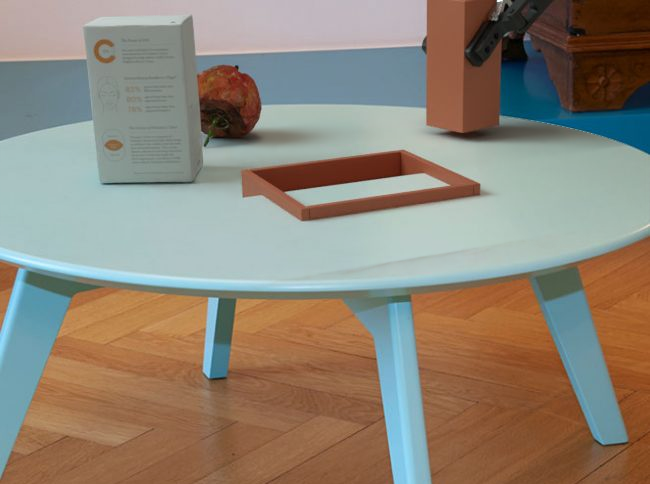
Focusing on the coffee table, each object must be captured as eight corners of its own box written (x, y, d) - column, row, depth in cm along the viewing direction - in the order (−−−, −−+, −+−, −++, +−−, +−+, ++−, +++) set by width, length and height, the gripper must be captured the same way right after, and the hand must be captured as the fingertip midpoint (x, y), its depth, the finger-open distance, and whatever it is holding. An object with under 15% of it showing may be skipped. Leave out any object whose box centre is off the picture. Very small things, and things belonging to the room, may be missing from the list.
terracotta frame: (403, 180, 94) (403, 149, 93) (479, 217, 84) (480, 183, 83) (242, 202, 89) (240, 169, 88) (302, 245, 78) (301, 209, 78)
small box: (204, 164, 100) (194, 13, 95) (193, 183, 94) (182, 22, 90) (113, 165, 101) (99, 14, 96) (97, 184, 95) (81, 24, 90)
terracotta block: (462, 118, 113) (464, -8, 108) (499, 125, 109) (503, -5, 105) (425, 125, 110) (426, -3, 105) (462, 133, 106) (464, 0, 102)
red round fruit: (251, 170, 107) (291, 91, 111) (212, 118, 102) (255, 37, 106) (191, 169, 111) (231, 93, 115) (150, 119, 106) (195, 41, 110)
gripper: (468, -113, 111) (377, 25, 109) (584, -114, 100) (486, 39, 98) (504, -59, 116) (417, 74, 114) (618, -55, 105) (525, 92, 103)
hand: (450, 57), depth 106 cm, fingers closed on terracotta block, 5 cm apart
